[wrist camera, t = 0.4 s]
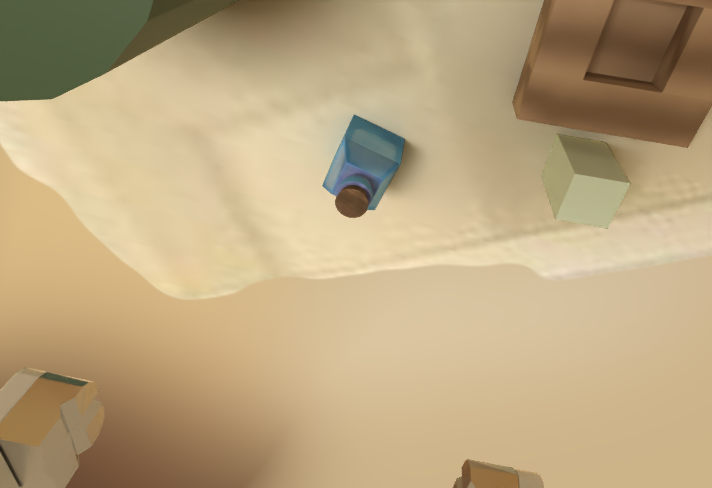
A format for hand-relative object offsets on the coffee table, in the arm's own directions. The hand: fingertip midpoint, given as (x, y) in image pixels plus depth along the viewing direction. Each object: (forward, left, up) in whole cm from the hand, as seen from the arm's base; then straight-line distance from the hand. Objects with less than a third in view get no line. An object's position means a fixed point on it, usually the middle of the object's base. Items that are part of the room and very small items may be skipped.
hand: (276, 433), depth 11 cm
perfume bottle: (+15, -2, -46) cm, 48 cm away
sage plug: (+12, +20, -46) cm, 51 cm away
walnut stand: (-1, +20, -46) cm, 50 cm away
